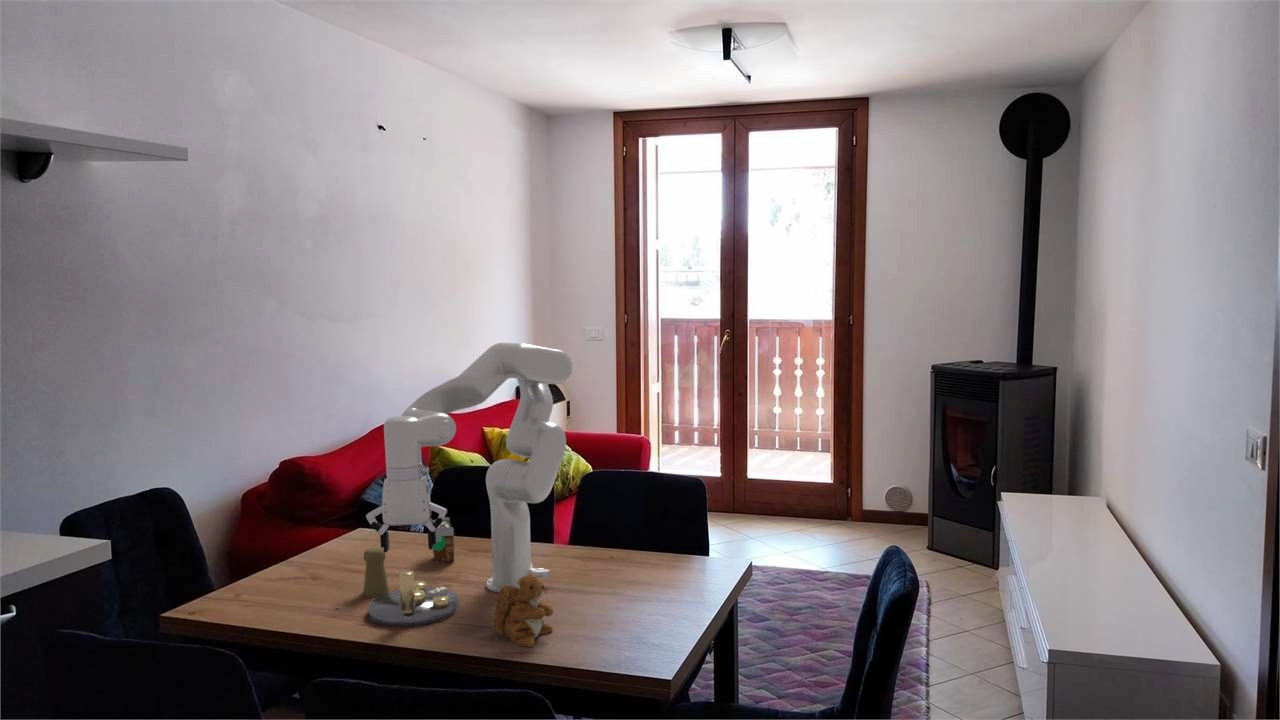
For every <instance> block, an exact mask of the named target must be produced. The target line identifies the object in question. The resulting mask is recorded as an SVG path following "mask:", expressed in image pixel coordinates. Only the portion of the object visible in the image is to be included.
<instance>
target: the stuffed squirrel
mask: <svg viewBox="0 0 1280 720" xmlns="http://www.w3.org/2000/svg"><path fill="white" fill-rule="evenodd" d="M514 583H515V585H516V586H517V588H516V587H513V586H506V585H504V587H502V588H501V590H500V592H498V595H497V597H496V605H495V609H494V612H493V616H494V617H493V620H492V622H491V625H492V626H493V628H494V631H495V632H496V633H498V635H500V636H507V637H509V639H510V640H511V641H512V643H514V644H516V645H519V646H523V647H527V648H531V647H534V645H535V642H536V641H535V640H536V639H535V638H537V637H538V636H539V635H544V634H548V633H552V632H553V631H554V628H553V626H552V624H549V623H545V620H544V619H543V618H544V617H547V618H548V617H551V616H553V613H554V610H553V608H552V606H551V605H549V604H547V603H544V602H542V601H540V599H541V598H542V597H543V595H544V594H547V591H549V590H548V588H547V586H545V584H544V583H543V582H542V581H541V580H540V579H538V578H536V577H535V576H533V574H532V573H529V575H526V576H524V577H522V578H520V579H516V580H515V581H514Z"/></svg>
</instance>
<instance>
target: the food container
mask: <svg viewBox="0 0 1280 720" xmlns="http://www.w3.org/2000/svg"><path fill="white" fill-rule="evenodd" d="M433 521H434V522H435V521H436V519H434V520H433ZM435 531H436V544H433V548H432V554H433V560H434V562H436V561H438V562H437V563H439V562H448V563H447V564H450V563H449V562H454V563H455V543H454V542H455V540H454V539H455V538H454V536H455V533H454V532H455V531H454V527H452V523H451V522H450V517H444V519H443V521H442V523H441V524H440V525H439V526H438V527H437V529H436V530H435Z"/></svg>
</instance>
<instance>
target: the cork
mask: <svg viewBox="0 0 1280 720" xmlns="http://www.w3.org/2000/svg"><path fill="white" fill-rule="evenodd" d="M386 554H387V552H384V548H381V546H380V547H379V546H378V547H377V546H374V547H373V546H372V547H369V548H366V549H365V551H364V553H363V560H364V561H365V575H364V583H363V584H364V585H363V596H365V597H370V598H371V597H379V596H381V595H384V594H386V593H389V591H390V589H389V583H388V578H387V574H386V567H385V560H386V556H387V555H386Z"/></svg>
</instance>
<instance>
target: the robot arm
mask: <svg viewBox="0 0 1280 720" xmlns="http://www.w3.org/2000/svg"><path fill="white" fill-rule="evenodd" d="M572 372H573V363H572V360H571V357H570V356H569V355H568V354H567V352H564V351H563V350H561V349H554V348H549V347H543V346H539V345H534V344H533V345H532V344H528V343H521V342H520V343H518V342H517V343H516V342H498V343H495V344H492V345H491V346H490V347H488V348H487V349H486V350H485V351H484V352H483V353H482V354H481V355H480V356H479V357H477V358H476V360H474V361H473V362H472V363H471V364H470V365H469V366H468V367H467V368H466V369H465V370H463V371H462V372H461V373H460V374H459V375H458V376H456V377H454V378H452V379H449V380H448V381H445V382H443V383H442V384H439V385H437V386H435V387H433V388H432V389H429V390H428V391H427V392H425V393H423V394H422V395H420V396H419V397H418V398H417V399H416V400H415V401H413V402H412V403H411V404H410V405H409V406H408V407H407V408H406V409H405V410H404V411H403V412H402V414H401V415H399V416H393V417H389V418H388V419H386V420H385V422H384V423H383V424H384V425H383V434H384V435H383V437H384V451H385V465H386V466H385V468H386V478H385V479H384V481H383V487H382V497H381V498H382V501H381V503H382V505H380V506H378V507H377V508H375V509H373V510H371V511H370V512H368V513H367V514H366V515H365V518H366V520H367V522H368V523H369V524H370V526H371V528H372V529H373V530H375V532H377V533H378V535H379V539H380V547H381V548H383V549H384V552H386V553H388V552H389V549H390V536H389V535H390V534H389V531H388V529H389V527H390V526H391V527H397V526H399V527H400V526H412V525H413V526H414V525H423V524H424V526H425V527H426V528H427V529H428V530H427V541H428V542H427V543H428V550H433V544H436V531H435V530H436V529H437V527H438V526H439V525H440V524H441V523H442V521H443V519H444V518H446V515H447V514H448V509H447V508H445V507H443V506H440V505H438V504H436V503H433V502H431V496H430V495H431V494H430V488H429V482H428V480H427V477H426V475H425V474H428V473H430V468H429V466H425V465H423V462H422V448H424V447H425V448H426V447H439V446H444V445H446V444H448V443H449V442H451V441H452V440H453V438H454V437H455V434H456V432H457V425H456V422H455V420H454V419H453V418H452V417H451V416H450V415H449V414H450V413H453V412H456V411H461V410H465V409H469V408H473V407H476V406H477V405H481V404H483V403H485V402H486V401H487V400H488V398H489V397H490V396H492V395H493V394H494V393H495V392H496V391H497V390H498V389H499V388H500V387H501V386H502V385H503V384H504V383H505V382H506V381H507V380H509V379H516V380H517V383H518V386H519V391H520V399H519V402H518V406H517V408H516V412H515V414H514V417H513V419H512V422H511V425H510V427H509V430H508V433H507V436H506V443H505V445H506V448H507V450H508V452H509V453H511V454H512V455H514V456H517V457H520V458H526V459H529V461H522V460H515V459H510V458H508V459H507V458H503V459H499V460H496V461H495V462H493V463H492V464H491V465H490V466H489V467H488V469H487V472H486V475H485V485H486V491H487V495H488V496H487V497H488V500H489V504H490V505H489V507H490V523H491V524H490V531H491V568H492V569H491V570H492V573H491V574H492V576H491V577H490V578H488V579H487V580H486V584H485V585H486V588H487V589H488V590H489V591H490V592H493V593H494V592H495V593H499V592H500V590H501V588H502V587H504V585H506V586H513V587H516V588H517V586H516V585H515V583H514V581H515V580H516V579H520V578H522V577H524V576H526V575H529V573H532V574H533V576H535V577H536V578H537V579H538V578H539V579H541V578H542V579H548V578H549V579H550V569H545V567H541V568H540V567H539V568H535V567H533V562H532V556H531V553H532V552H531V516H530V515H531V514H530V511H529V510H530V509H529V506H528V504H539V503H541V502H544V501H545V500H546V499H547V497H548V496H549V495H550V493H551V491H552V488H553V486H554V483H555V481H556V478H557V476H558V472H559V470H560V467H561V464H562V461H563V458H564V455H565V452H566V447H567V436H566V433H565V431H564V429H563V428H562V427H561V426H560V425H559V424H558V423H555V422H553V421H550V418H551V416H552V415H551V414H552V411H553V405H554V399H553V395H552V393H551V392H552V391H551V390H550V389H551V388H550V387H549V384H550V385H560V384H563V383H565V382H566V381H568V380H569V378H570V377H571V375H572ZM432 511H433V512H434V513H438V517H437V518H436V519H435V520H436V521H435V522H434V520H433V519H432V518H431V516H432ZM380 514H382V515H381V516H382V523H383V524H381V523H380V522H379V521H377V519H376V517H377V516H379V515H380Z"/></svg>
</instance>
